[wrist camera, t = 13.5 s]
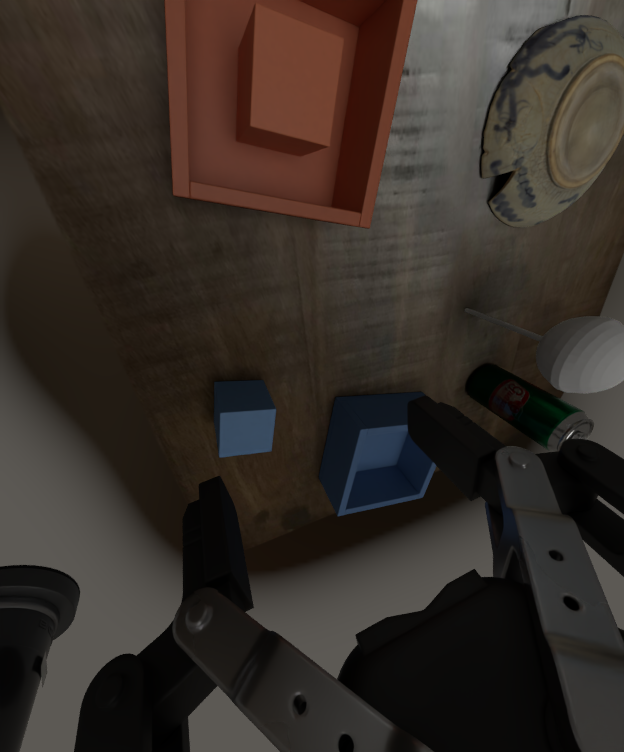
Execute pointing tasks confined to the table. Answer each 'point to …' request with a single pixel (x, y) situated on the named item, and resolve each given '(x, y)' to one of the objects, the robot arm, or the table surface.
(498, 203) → the decorative bowl
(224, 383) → the blue block
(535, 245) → the table surface
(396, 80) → the terracotta bin
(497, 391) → the soda can
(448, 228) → the table surface
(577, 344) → the lollipop
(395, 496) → the blue bin
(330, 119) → the terracotta block
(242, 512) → the table surface
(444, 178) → the table surface
